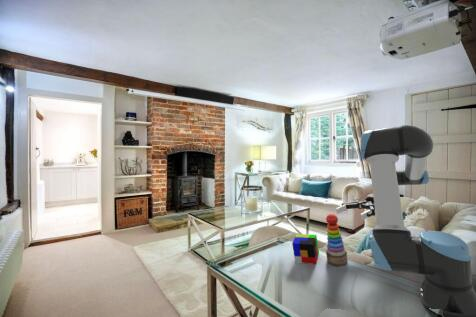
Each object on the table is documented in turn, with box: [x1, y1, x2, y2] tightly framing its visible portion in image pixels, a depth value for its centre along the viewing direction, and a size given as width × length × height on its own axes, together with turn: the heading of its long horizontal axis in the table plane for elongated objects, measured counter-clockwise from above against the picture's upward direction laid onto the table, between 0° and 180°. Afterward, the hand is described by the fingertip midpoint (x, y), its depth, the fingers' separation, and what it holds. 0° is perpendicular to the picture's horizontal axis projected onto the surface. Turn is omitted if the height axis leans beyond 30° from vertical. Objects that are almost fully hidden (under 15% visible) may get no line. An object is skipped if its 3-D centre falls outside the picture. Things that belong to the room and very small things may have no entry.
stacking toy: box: [325, 213, 347, 256], centre depth 110 cm, size 8×8×19 cm
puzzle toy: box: [291, 233, 320, 265], centre depth 118 cm, size 10×10×10 cm
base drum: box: [325, 250, 349, 267], centre depth 111 cm, size 9×9×4 cm
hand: (348, 213), depth 114 cm, fingers open, 13 cm apart
